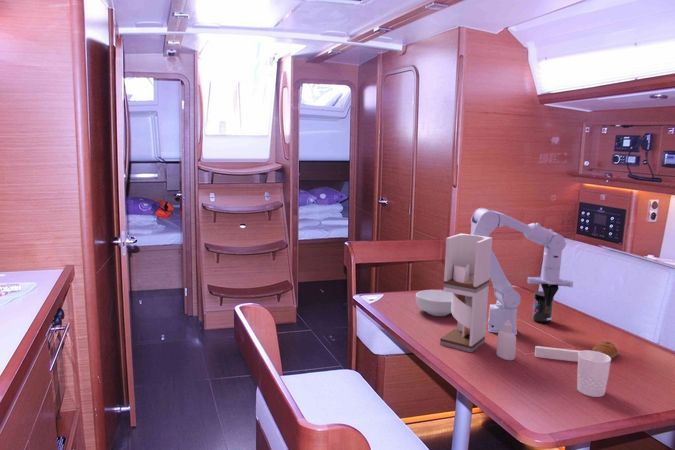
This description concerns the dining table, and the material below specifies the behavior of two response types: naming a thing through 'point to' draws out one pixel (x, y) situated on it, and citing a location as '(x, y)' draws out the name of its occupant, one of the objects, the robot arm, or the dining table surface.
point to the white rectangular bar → (556, 353)
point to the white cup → (592, 373)
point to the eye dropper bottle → (506, 342)
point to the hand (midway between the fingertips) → (547, 305)
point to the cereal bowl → (434, 302)
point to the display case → (467, 288)
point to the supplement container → (541, 309)
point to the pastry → (606, 349)
